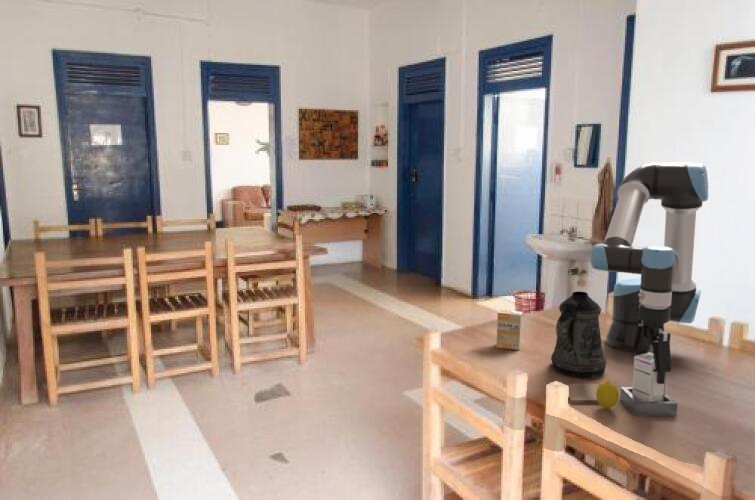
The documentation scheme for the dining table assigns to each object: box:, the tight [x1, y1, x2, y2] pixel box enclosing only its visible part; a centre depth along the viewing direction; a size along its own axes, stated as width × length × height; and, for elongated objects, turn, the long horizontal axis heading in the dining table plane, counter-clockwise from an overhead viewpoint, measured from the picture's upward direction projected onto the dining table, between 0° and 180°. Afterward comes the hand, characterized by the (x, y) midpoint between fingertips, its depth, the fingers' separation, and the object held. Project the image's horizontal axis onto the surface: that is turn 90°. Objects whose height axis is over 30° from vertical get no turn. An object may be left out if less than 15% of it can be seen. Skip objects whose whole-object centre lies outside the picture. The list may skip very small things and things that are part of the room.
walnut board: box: [565, 383, 600, 405], centre depth 162 cm, size 11×11×1 cm
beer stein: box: [550, 291, 607, 380], centre depth 177 cm, size 16×19×25 cm
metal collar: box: [619, 386, 678, 417], centre depth 153 cm, size 10×10×4 cm
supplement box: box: [495, 309, 524, 351], centre depth 200 cm, size 8×5×13 cm, turn 68°
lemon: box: [596, 380, 620, 410], centre depth 152 cm, size 6×6×8 cm
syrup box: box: [632, 351, 667, 402], centre depth 152 cm, size 6×6×14 cm
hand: (648, 386), depth 153 cm, fingers open, 9 cm apart
